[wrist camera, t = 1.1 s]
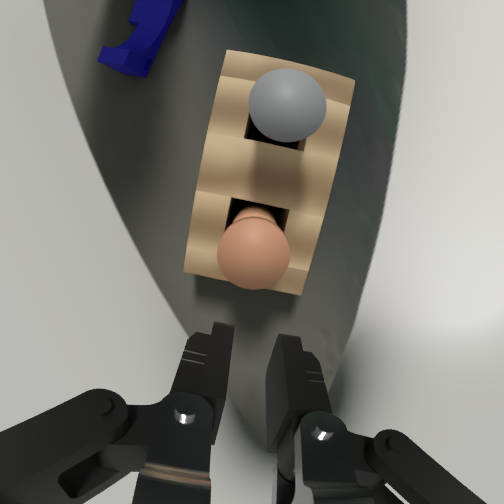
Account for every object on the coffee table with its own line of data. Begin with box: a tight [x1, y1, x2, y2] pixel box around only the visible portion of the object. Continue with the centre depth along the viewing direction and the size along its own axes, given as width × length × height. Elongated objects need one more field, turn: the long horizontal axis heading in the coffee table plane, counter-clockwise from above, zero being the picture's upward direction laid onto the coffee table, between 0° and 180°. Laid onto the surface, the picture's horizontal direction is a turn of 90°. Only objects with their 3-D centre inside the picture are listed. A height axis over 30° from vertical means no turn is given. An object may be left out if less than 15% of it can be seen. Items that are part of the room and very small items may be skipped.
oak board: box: [183, 50, 355, 295], centre depth 26 cm, size 20×11×5 cm, turn 168°
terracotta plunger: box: [217, 205, 290, 290], centre depth 23 cm, size 5×5×8 cm
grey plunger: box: [248, 68, 327, 142], centre depth 20 cm, size 5×5×8 cm
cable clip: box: [97, 0, 183, 78], centre depth 21 cm, size 12×4×6 cm, turn 159°
